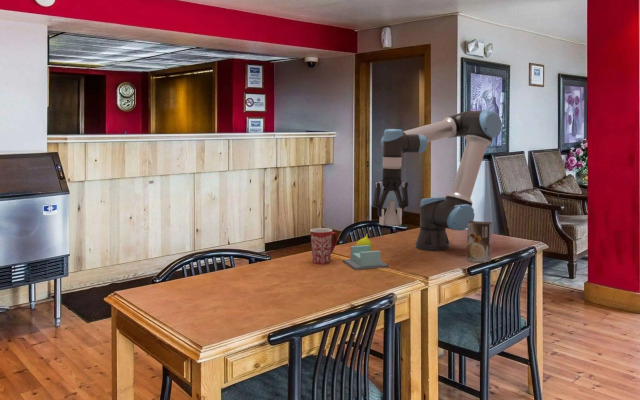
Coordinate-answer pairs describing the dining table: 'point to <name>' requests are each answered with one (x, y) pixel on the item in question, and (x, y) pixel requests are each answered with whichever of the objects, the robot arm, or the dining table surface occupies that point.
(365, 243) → the ornament
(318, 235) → the mug
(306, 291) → the dining table surface
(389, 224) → the flask
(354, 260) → the display stand
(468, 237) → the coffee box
